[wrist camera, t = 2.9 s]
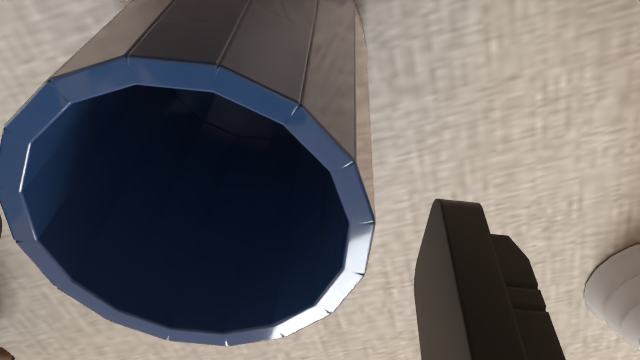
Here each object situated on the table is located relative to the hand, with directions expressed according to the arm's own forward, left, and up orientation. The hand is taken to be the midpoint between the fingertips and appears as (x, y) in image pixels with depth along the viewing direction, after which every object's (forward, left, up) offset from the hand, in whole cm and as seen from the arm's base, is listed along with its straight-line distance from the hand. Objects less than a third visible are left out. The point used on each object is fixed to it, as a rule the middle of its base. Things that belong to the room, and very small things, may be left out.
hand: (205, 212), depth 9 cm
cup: (0, 0, -7) cm, 7 cm away
